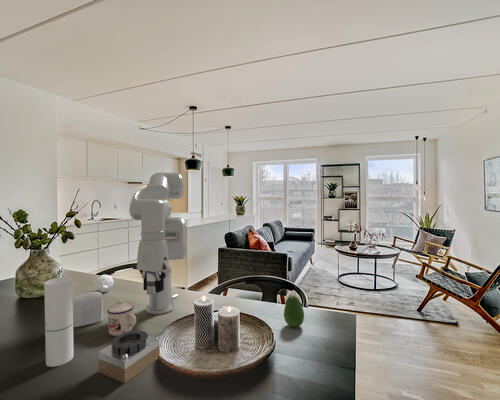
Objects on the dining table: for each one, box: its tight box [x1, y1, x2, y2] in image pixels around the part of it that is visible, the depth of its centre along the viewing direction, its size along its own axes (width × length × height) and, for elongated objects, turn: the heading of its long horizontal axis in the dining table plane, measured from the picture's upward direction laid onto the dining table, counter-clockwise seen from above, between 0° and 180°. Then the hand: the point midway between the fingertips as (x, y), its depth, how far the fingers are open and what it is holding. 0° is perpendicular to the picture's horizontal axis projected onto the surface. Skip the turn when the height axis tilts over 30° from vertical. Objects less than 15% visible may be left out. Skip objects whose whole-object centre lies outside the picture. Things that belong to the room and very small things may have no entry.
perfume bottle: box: [93, 274, 115, 293], centre depth 143 cm, size 9×9×12 cm
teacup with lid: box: [106, 298, 137, 337], centre depth 103 cm, size 12×9×12 cm
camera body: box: [98, 329, 161, 384], centre depth 83 cm, size 13×11×8 cm
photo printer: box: [73, 291, 104, 328], centre depth 109 cm, size 10×4×12 cm, turn 123°
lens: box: [146, 271, 160, 296], centre depth 91 cm, size 5×5×7 cm
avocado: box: [283, 295, 305, 328], centre depth 106 cm, size 8×8×12 cm
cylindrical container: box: [43, 276, 75, 368], centre depth 85 cm, size 7×7×25 cm
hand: (153, 289), depth 91 cm, fingers closed on lens, 4 cm apart
